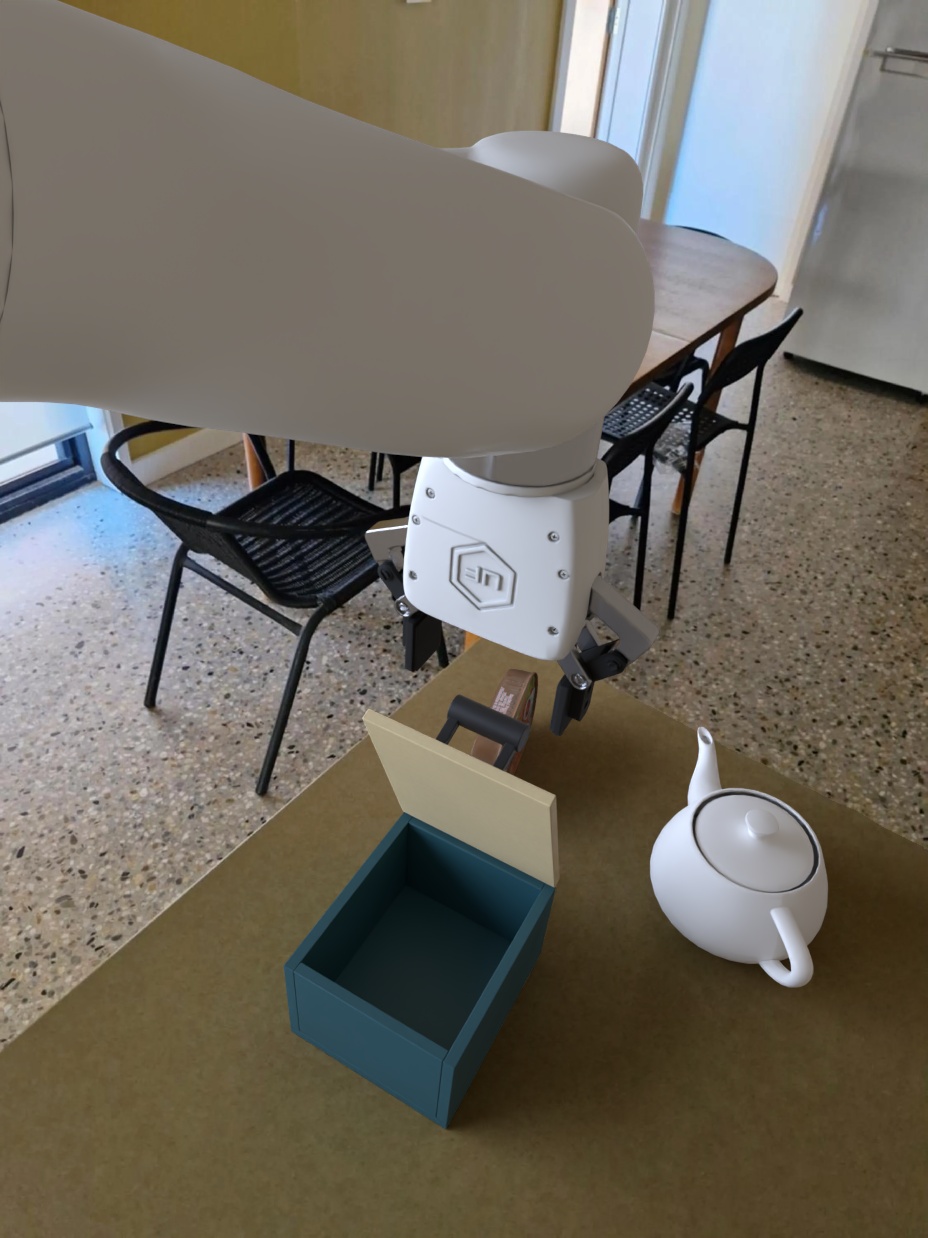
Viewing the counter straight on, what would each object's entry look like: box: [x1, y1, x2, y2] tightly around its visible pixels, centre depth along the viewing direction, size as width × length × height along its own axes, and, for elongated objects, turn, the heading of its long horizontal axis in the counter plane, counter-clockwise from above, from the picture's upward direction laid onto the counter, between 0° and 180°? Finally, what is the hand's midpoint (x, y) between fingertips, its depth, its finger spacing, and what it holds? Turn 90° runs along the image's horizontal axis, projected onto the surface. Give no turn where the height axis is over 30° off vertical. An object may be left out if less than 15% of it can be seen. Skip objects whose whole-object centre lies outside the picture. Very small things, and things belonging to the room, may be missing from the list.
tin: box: [469, 668, 539, 776], centre depth 80 cm, size 15×3×8 cm, turn 161°
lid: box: [362, 693, 560, 888], centre depth 59 cm, size 15×13×5 cm
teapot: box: [649, 726, 829, 988], centre depth 70 cm, size 22×14×11 cm, turn 8°
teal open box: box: [283, 812, 557, 1130], centre depth 62 cm, size 15×13×9 cm
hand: (491, 688), depth 53 cm, fingers open, 9 cm apart
